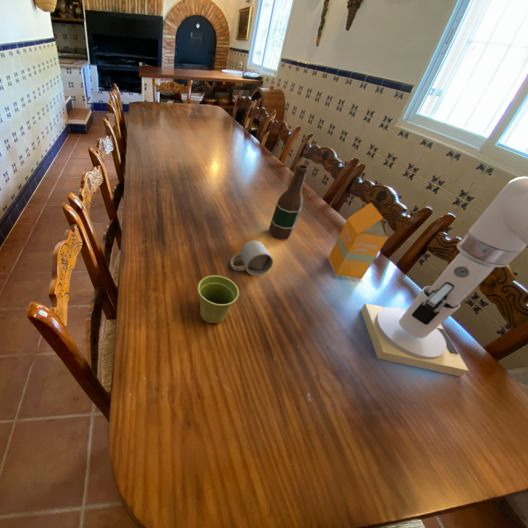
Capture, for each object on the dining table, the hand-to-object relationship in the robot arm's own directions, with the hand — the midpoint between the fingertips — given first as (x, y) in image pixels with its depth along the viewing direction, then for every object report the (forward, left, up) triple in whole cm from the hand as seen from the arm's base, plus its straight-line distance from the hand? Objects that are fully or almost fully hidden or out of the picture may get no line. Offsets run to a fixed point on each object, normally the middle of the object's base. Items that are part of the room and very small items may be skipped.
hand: (426, 313), depth 65 cm
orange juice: (+8, -25, -10) cm, 28 cm away
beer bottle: (+27, -38, -10) cm, 48 cm away
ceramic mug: (+37, -16, -10) cm, 42 cm away
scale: (-1, 0, -9) cm, 9 cm away
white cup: (0, 0, -5) cm, 5 cm away
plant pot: (+45, +5, -10) cm, 46 cm away
